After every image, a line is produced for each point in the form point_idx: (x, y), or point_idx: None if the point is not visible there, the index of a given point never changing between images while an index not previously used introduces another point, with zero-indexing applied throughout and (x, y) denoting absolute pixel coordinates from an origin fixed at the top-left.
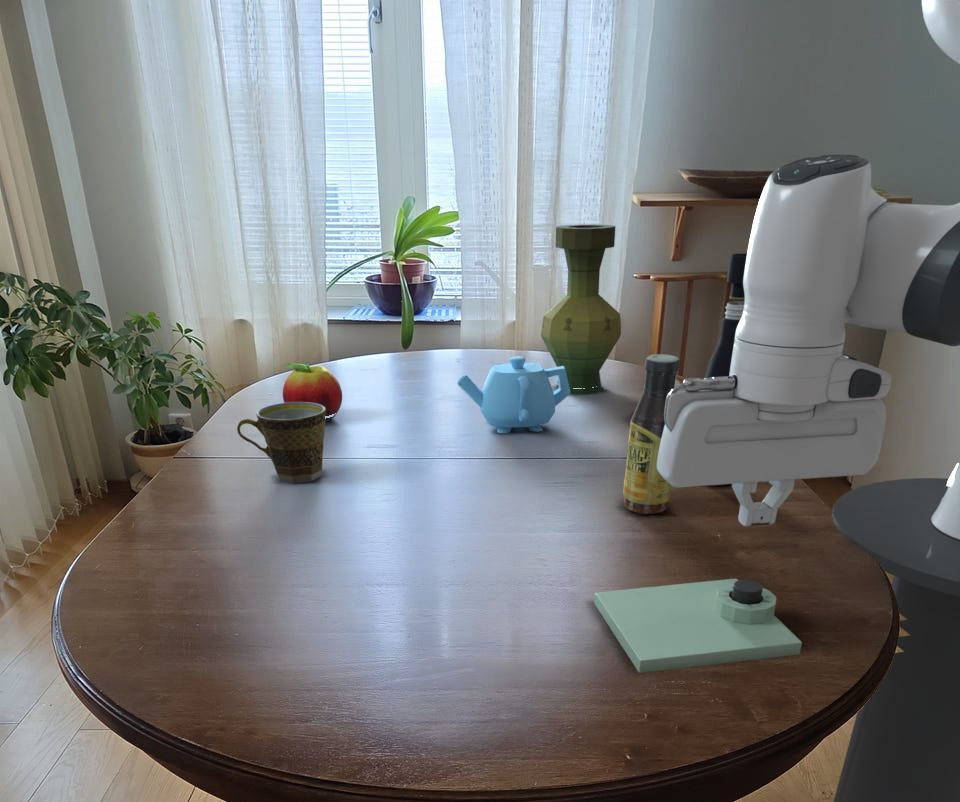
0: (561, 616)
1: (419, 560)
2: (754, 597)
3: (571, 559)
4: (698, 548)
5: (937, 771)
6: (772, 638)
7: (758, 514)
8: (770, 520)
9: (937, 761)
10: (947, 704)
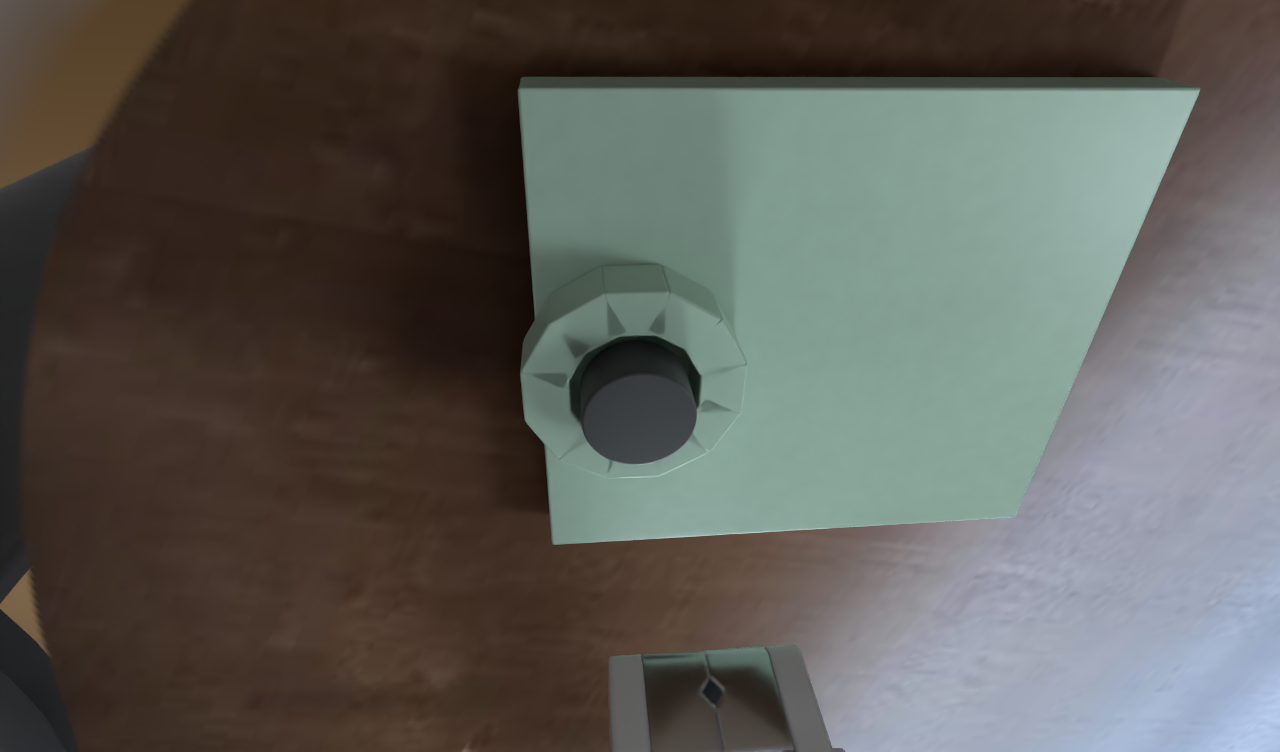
0: (1119, 444)
1: (1224, 694)
2: (634, 359)
3: (903, 678)
4: (551, 704)
5: (52, 228)
6: (626, 147)
7: (747, 714)
8: (643, 674)
9: (44, 240)
10: None
